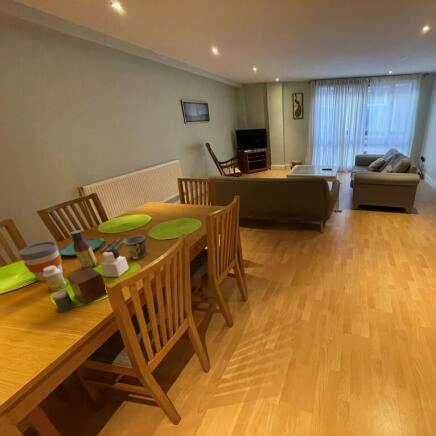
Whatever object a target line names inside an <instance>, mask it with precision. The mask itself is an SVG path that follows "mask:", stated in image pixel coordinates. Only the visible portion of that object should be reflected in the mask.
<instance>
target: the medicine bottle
mask: <svg viewBox="0 0 436 436" xmlns="http://www.w3.org/2000/svg"><path fill="white" fill-rule="evenodd" d="M102 257H103V260H104V261H103V262H101V263H100V267H101V269H102V273H103V275H104V277H111V278H112V277H113V278H120V277H121V276H122V275H123V274H124V273H125V272H127V270H129V269H130V268H129V264H128V261H127V258H126V256H121V254H120V252H119V250H118V249H114V248H113V249H110V250H106V251H105V250H104V251H103V253H102Z"/></svg>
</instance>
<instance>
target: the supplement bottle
mask: <svg viewBox="0 0 436 436" xmlns="http://www.w3.org/2000/svg"><path fill="white" fill-rule="evenodd" d="M43 271H44V274H43V277H44V279H45V283H46V285H47V287H48V289H49V290H50V291H60V290H62V289H63V288H64V287H66V285H67V282H66V280H65V278H64V275H63V272H62V273H61V271H60V269H57V268H56V266H48V267H46V268H44V269H43Z"/></svg>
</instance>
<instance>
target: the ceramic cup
mask: <svg viewBox="0 0 436 436" xmlns="http://www.w3.org/2000/svg"><path fill="white" fill-rule="evenodd" d="M146 240H147V239H146V236H144V235H134V236H130V237H128V238H126V240H125V241H124V242H123V244H124V246H125V248H126V249H127V251H128V253H129V254H130V256H131V258H132V259H134V260H138V259H142V258H144V257H145V256H146V255H147V241H146Z"/></svg>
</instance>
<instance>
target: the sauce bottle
mask: <svg viewBox="0 0 436 436" xmlns="http://www.w3.org/2000/svg"><path fill="white" fill-rule="evenodd" d="M70 236H71V238H72V241H73V243H74V250H75V253H76V255H75V256H76V257H77V259H78V262H79V264H80V266H81V267H82V269H83V270H84V269H87V268H89V267H90V268H92V269H93V268H95V267H96V266H97V265H98V261H97V257H96V255H95V254H94V251H92V248H91V246H90V245H89V242H88V241H87V240H86V238H84V235H83V231H82V230H81V229H78V230H77V229H76V230H73V231H71V232H70Z"/></svg>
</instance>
